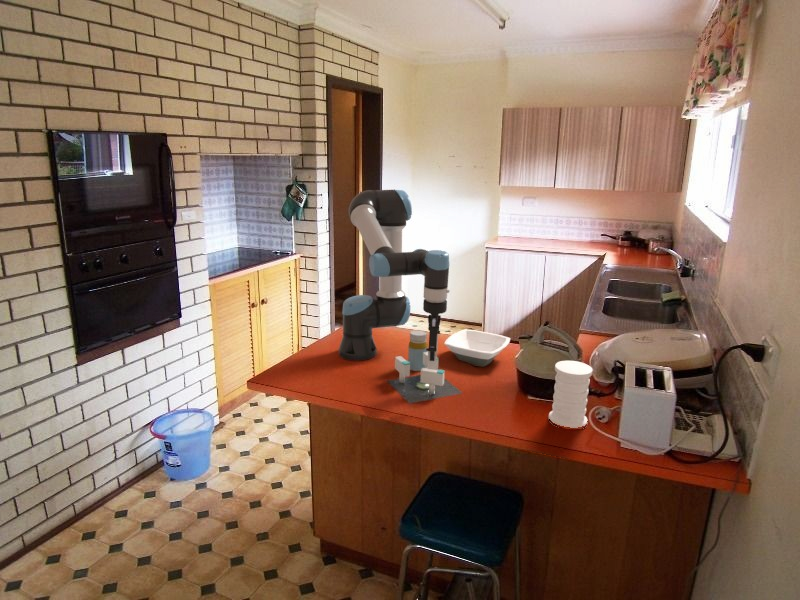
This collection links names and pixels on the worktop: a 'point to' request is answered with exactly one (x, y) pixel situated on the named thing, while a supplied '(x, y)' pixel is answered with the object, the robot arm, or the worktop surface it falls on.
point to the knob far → (425, 360)
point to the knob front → (432, 378)
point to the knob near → (402, 368)
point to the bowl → (476, 346)
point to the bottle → (417, 349)
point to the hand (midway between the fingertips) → (432, 360)
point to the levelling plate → (421, 389)
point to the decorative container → (570, 394)
